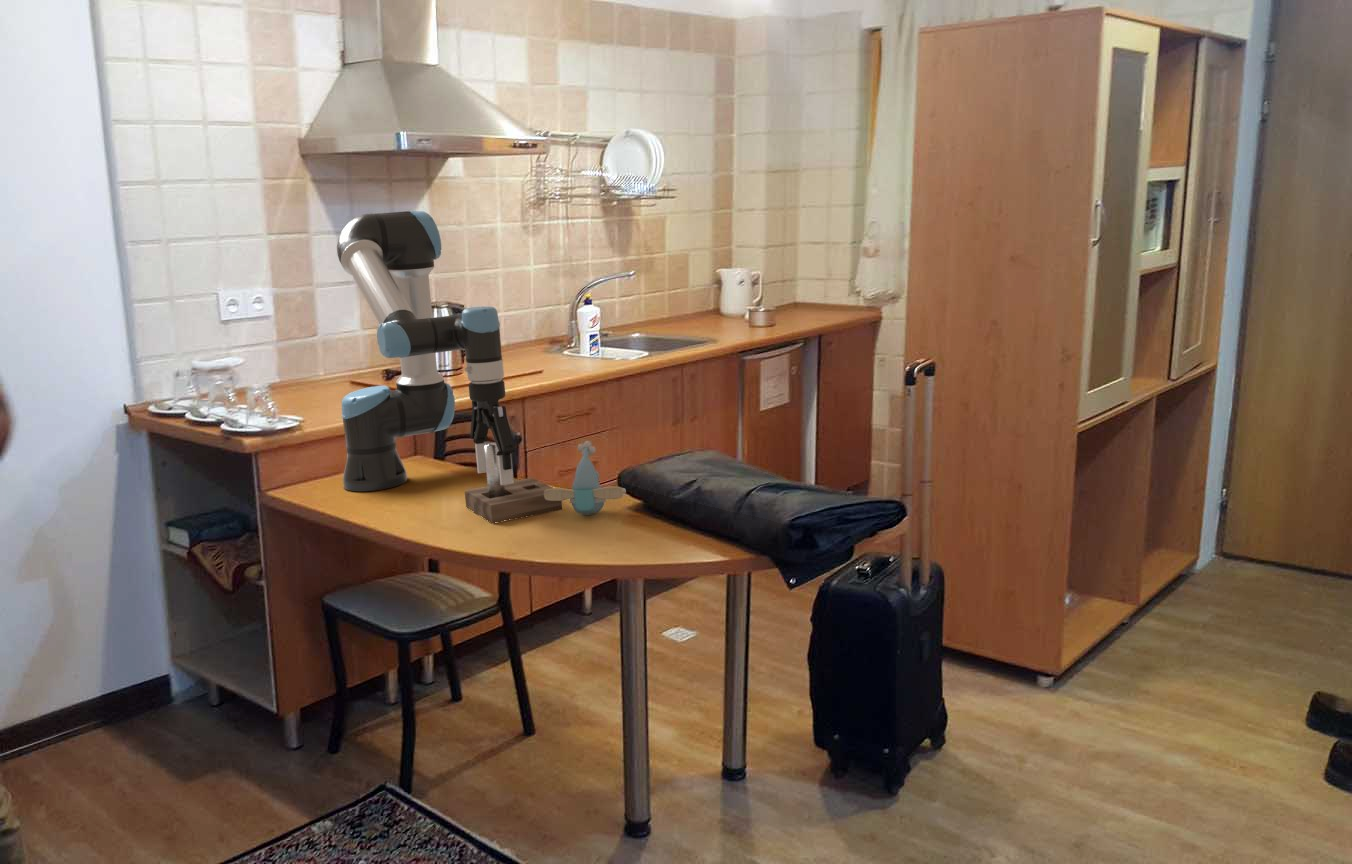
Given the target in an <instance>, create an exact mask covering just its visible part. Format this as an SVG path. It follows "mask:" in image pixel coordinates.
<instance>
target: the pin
mask: <svg viewBox="0 0 1352 864" xmlns="http://www.w3.org/2000/svg"><path fill="white" fill-rule="evenodd" d="M498 451H499V450H498V448H497V445H496V442H493V441H492V442H487V444H484V454H485V464H486V472H485V473H486V483H487V485H486V486H488V495H489V499H491V498H496V497H501V496H506V495H505V485H501V484H500V474H499V463H498V456H497V455H496V454H497V452H498Z"/></svg>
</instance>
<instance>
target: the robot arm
mask: <svg viewBox="0 0 1352 864" xmlns="http://www.w3.org/2000/svg"><path fill="white" fill-rule="evenodd" d="M336 254H337V257H338V261H339V263H340V265H341V266H342V268H343V270H344V271H345V272H346V273H347V274H349V275H350V276H352V277H353V278H354V279H353V280H354V281H355V283H356V284H357V286H358V288H359V290H360V291H361V293H362V295H363V297H364V298H365V300H366V302H367V304H368V306H369V308H370V309H371V311H372V313H373V315H374V317H375V318H376V320H377V322H378V323H379V325H378V327H377V329H376V331H377V332H376V338H377V339H376V340H377V344H378V347H379V348H378V349H379V351H380V353H381V354H382V356H383V357H384V358H387V359H393V358H395V359H396V358H399V361H400V370H401V374H400V376H399V377H398V379H396V381H395V384H396V389H394V390H391V389H390V387H389V386H387V385H376V386H370V387H369V386H368V387H365V388H361V389H357V390H354V391H352V392H349V393H348V394H345V396H343V398H342V400H341V419H342V423H343V431H344V440H345V446H346V462H345V467H344V471H343V476H342V485H343V489H344V490H346V491H352V492H371V491H374V492H375V491H380V490H385V489H386V490H387V489H391V488H395V487H399V486H401V485H404V484H405V483H406V482H407V481H408V475H407V473H408V472H407V469H406V468H405V465H404V463H403V461H402V459H401V457H400V455H399V453H398V450H397V443H396V439H398V438H404V437H410V436H415V435H423V434H428V433H429V434H433V433H435V432H438V431H444V430H446V429H447V428H449V427H450V426H451V425H452V422H453V420H454V418H455V409H456V402H455V400H456V399H455V395H454V390H453V388H452V386H451V385H450V384H449V383H447V382H445V378H444V376H443V375H441V374H440V373H439V371H438V365H437V354H436V353H445V352H446V353H447V352H452V351H460V350H461V351H463V350H464V353H465V363H466V367H465V368H464V371H465V372H466V373H467V380H468V381H470V382H469V383H468V394H469V399H470V401H471V408H472V409H471V411H472V412H471V421H470V433H469V434H470V435H469V437H470V439H471V440H473V443H474V446H475V457H476V459H475V460H476V466H477V467H476V468H477V474H484V473H486V464H485V454H484V444H487V443H488V442H490V441H489V437H488V433H489V430H490V431H491V433H492V436H493V438H494V439H493V440H494V441H495V442H496V445H497V448H498V450H499V451H498V452H497V454H496V455H497V456H498V463H499V474H500V484H501V485H507V484H512V483H514V481H515V480H514V470H513V459H512V453H515V452H516V445H515V442H514V439H513V435H512V434H513V433H512V431H511V427H510V424H509V420H508V419H509V418H508V414H507V407H506V405H501V406H500V403H499V401H500V400H502V399H504V398H505V397H506V387H505V381H504V380H503V378H504V377H505V373H504V372H505V371H504V363H503V361H504V360H503V356H502V354H503V353H502V343H501V341H502V340H501V332H500V331H501V330H500V327H501V325H500V324H501V323H500V320H499V314H498V310H497V308H496V307H493V306H475V307H474V306H473V307H468V308H464V309H463V310H462V311H461V312H460V313H451V314H449V315H446V316H436V317H433V310H432V297H431V287H430V277H429V275H430V273H431V272H432V271H433V270H434V269H435V261H434V260H437V259H439V258H440V257H441V255H442V240H441V235H440V232H439V229H438V225H437V223H436V222H435V220H434V219H433V217H432V216H431V215H430V214H429V213H428V212H425V211H421V210H406V211H393V212H391V211H390V212H380V213H373V212H372V213H371V212H370V213H365V214H364V213H363V214H361V215H357V216H356V217H354V218H352V219H351V220H350V221H348V223H347V224H345V226H344V227H343V229H342V230H341V232H340V233H339V236H338V239H337V243H336Z"/></svg>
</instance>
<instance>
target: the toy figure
mask: <svg viewBox="0 0 1352 864" xmlns="http://www.w3.org/2000/svg"><path fill="white" fill-rule="evenodd" d="M596 449H597V448H596V447H595V446H594V445H592V442H591V441H589V440H586V441H584V443H580V444H579V443H578V446H577V450H578V451H579V452H581V455H582V457H581V459H580V461H579V462H578V463H577V466H576V468H575V476H574V478H573V483H572V486H571V489H568V488H563V487H552V488H551V489H546V490H545V491H544V498H545V499H546V500H548V501H562V502H563V501H566V500H569V504H571V506H572V508H573V510H574V511H575V512H576V513H578V514H580V515H585V516H588V515H595V514H597V513H598V512H599V511H601V510H602V509H603V507H604V504H605V502H607V500H609V501H610V500H618V499H619V500H620V499H622V498H623V497H624V495H625V494H626V493H627V490H626V488H624V487H621V486H616V485H615V486H611V485H608V486H604V487H602V486H601V484H600V482H599V479H600V473H599V472H598V471H597V470H596V468H595V465H594V463H593V462H592V460H591V459H590V458H589V457H590V456H592V455H593V454H595V453H596V451H597V450H596Z"/></svg>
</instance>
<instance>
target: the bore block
mask: <svg viewBox="0 0 1352 864" xmlns="http://www.w3.org/2000/svg"><path fill="white" fill-rule="evenodd" d="M551 488H553V486H550V485H549V484H547V483H544V482H542V481H539V480H538V479H536V478H534V477H529V478H523V479H517V480H514V483H512V484H507V485H505V495H506V496H501V497H496V498H491V499H489V495H488V485H486V486H481V487H475V488H469V489H465V490H464V498H465V508H466V507H467V508H468V509H467V508H466V509H467V510H469V509H470V510H469V511H471V510H472V511H474V512H475V513H477V514H478V515H477V514H476V515H477V516H479V515H480V516H482V517H483V518H482V517H481V518H482V519H484V518H485V519H486V521H487V520H488V521H487V522H489V521H490V522H491V523H490V522H489V523H490V524H492V523H494V524H496V523H495V522H499V523H502V522H501V521H504V520H509V519H514V520H516V519H515V518H519V519H522V518H521V517H524V518H527V517H526V516H528V517H532V516H531V515H533V516H537V515H542V514H546V513H547V514H548V513H553V512H558V511H562V510H563V500H562V501H548V500H546V499H545V498H544V491H545V490H546V489H551ZM472 511H471V512H472ZM474 512H473V513H474ZM475 513H474V514H475ZM480 516H479V517H480ZM485 519H484V520H485ZM509 521H510V520H509ZM504 522H505V521H504Z"/></svg>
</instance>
